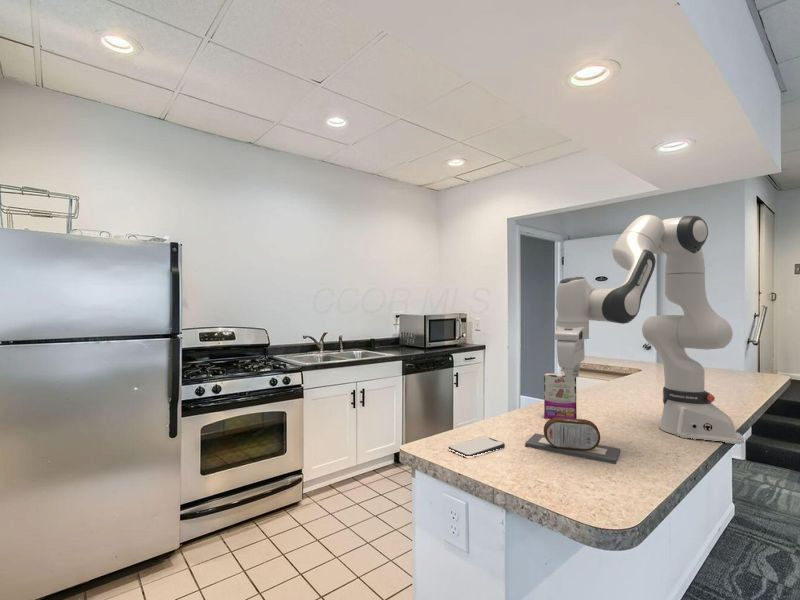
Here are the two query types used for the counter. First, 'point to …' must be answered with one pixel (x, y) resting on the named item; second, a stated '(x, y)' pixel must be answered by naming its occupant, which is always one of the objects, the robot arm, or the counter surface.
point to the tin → (572, 433)
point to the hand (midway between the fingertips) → (572, 379)
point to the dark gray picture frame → (597, 453)
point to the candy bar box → (559, 396)
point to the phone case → (477, 446)
